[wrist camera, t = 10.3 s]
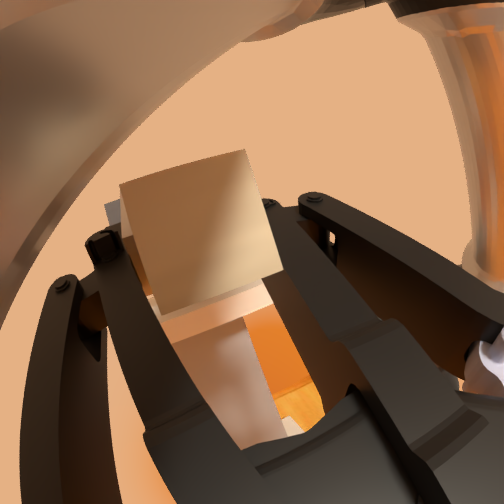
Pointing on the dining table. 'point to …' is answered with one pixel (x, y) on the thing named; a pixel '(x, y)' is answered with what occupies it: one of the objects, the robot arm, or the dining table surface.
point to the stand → (228, 363)
